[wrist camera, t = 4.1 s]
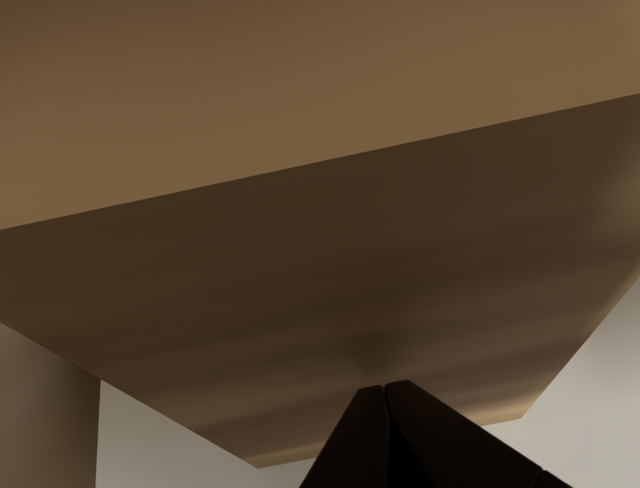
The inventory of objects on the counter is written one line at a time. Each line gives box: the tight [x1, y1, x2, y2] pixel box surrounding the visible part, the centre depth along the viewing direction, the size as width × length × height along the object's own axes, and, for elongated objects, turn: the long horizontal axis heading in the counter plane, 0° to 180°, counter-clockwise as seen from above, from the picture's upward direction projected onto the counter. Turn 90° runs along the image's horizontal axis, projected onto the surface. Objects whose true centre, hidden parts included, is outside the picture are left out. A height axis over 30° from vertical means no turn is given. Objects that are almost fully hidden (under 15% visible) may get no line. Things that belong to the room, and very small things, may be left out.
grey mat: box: [96, 277, 640, 488], centre depth 19 cm, size 22×16×1 cm
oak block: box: [0, 0, 640, 469], centre depth 10 cm, size 4×7×12 cm, turn 99°
